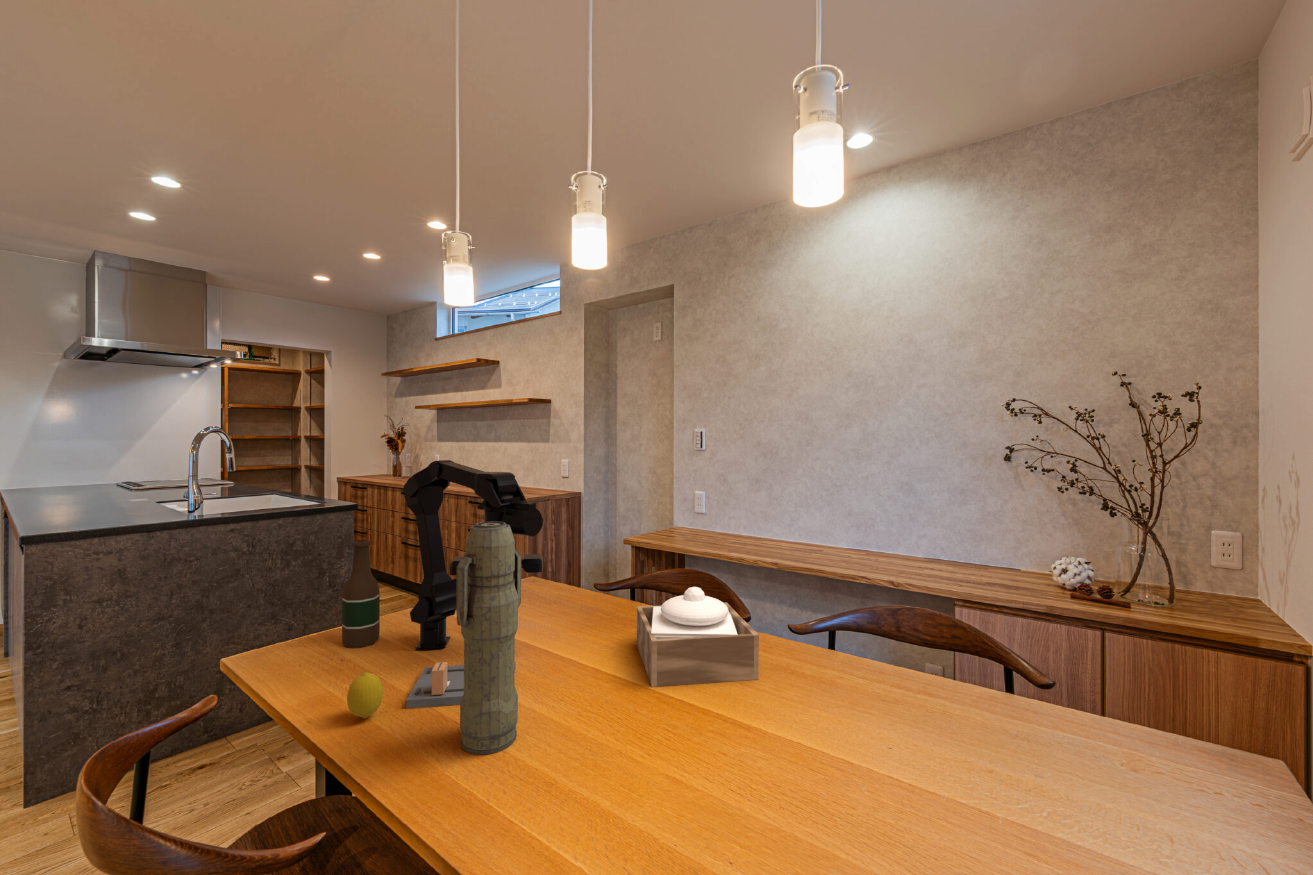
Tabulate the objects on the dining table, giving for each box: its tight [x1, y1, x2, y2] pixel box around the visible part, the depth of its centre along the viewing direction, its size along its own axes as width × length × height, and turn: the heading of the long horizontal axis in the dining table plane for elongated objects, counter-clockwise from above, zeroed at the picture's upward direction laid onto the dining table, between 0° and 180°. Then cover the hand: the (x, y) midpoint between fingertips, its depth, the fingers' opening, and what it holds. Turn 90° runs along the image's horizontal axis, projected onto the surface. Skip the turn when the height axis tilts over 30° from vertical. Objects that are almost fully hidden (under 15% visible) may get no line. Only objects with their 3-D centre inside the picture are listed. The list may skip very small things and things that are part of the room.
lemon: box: [346, 671, 384, 720], centre depth 95 cm, size 6×6×8 cm
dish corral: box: [636, 602, 760, 688], centre depth 121 cm, size 22×22×9 cm
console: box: [405, 661, 517, 709], centre depth 107 cm, size 14×18×2 cm
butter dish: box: [651, 586, 738, 639], centre depth 121 cm, size 18×18×16 cm
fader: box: [432, 661, 448, 695], centre depth 102 cm, size 4×2×4 cm, turn 10°
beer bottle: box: [341, 539, 381, 649], centre depth 129 cm, size 8×8×24 cm
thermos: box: [455, 521, 522, 756], centre depth 89 cm, size 9×12×35 cm
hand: (497, 604), depth 117 cm, fingers closed
